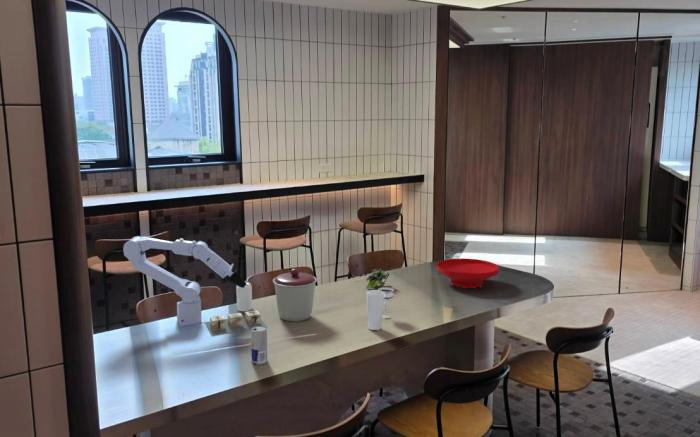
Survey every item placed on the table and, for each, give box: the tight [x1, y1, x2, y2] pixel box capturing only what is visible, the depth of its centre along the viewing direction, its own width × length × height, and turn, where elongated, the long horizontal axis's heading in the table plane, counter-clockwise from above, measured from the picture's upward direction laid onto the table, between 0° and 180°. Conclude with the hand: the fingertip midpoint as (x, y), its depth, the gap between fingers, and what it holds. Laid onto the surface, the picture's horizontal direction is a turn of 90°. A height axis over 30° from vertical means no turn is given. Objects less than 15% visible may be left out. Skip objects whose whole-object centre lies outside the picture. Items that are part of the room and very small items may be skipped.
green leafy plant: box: [365, 268, 390, 290], centre depth 276 cm, size 11×11×12 cm
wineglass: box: [377, 286, 395, 319], centre depth 235 cm, size 7×7×12 cm
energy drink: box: [250, 326, 268, 366], centre depth 191 cm, size 5×5×12 cm
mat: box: [203, 316, 269, 337], centre depth 225 cm, size 22×16×1 cm
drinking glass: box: [365, 289, 385, 331], centre depth 222 cm, size 7×7×15 cm
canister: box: [272, 268, 318, 323], centre depth 233 cm, size 18×18×21 cm
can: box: [235, 280, 253, 312], centre depth 243 cm, size 6×6×12 cm
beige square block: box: [209, 314, 226, 331], centre depth 221 cm, size 5×5×4 cm
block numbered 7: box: [244, 310, 262, 326], centre depth 227 cm, size 5×5×4 cm
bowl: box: [436, 258, 500, 289], centre depth 283 cm, size 30×30×10 cm
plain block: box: [227, 312, 244, 328], centre depth 224 cm, size 5×5×4 cm
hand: (243, 285), depth 229 cm, fingers open, 7 cm apart
